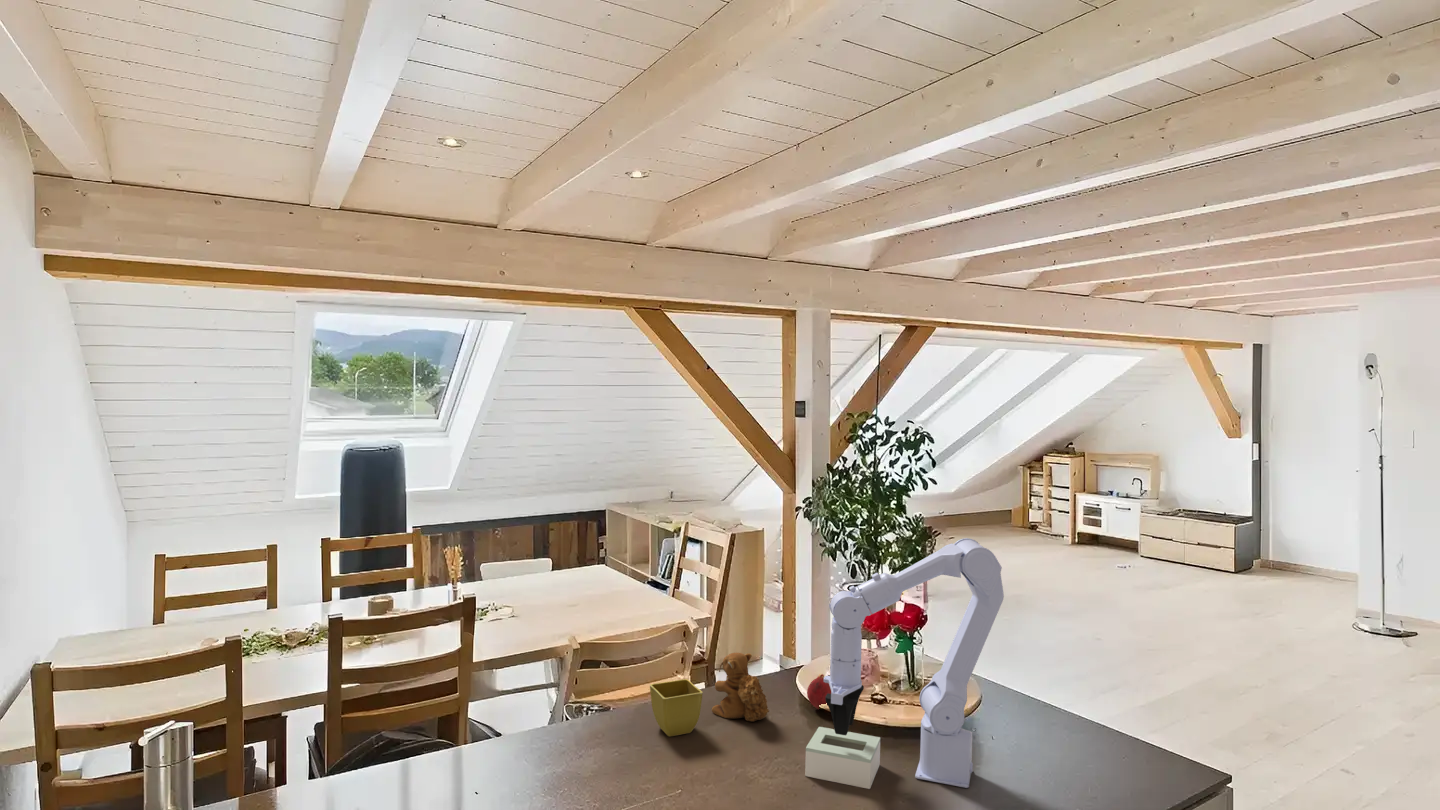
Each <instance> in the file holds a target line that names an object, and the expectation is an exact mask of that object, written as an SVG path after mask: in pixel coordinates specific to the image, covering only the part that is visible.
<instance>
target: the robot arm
mask: <svg viewBox="0 0 1440 810" xmlns="http://www.w3.org/2000/svg"><path fill="white" fill-rule="evenodd" d="M997 558H998V557H996V555H995V554H994V552H993V551H992V550H990V549H989V548H987V547H984V546H983V545H981V544H980V543H979V542H978V541H976V540H975V539H973V538H969V537H965V538H961V539H959V540H957V541H955V542H954V543H949V544H946V545H944V546H943V547H941V548H940V549H938V550H937V551H934V552H933V553H931V554H930V555H928V556H926V557H924V558H923V559H921V560H919V561H917V562H915V563H913V564H911V565H910V566H908V567H906V568H904V569H903V570H901V571H899V572H897V573H895V574H889V573H887V572H883V573H881V574H879V572H875V573H873V574H871V579H869V580H867V581H864V582H862V583H860V584H859V585H857V586H854V585H851V586H849V588H848V589H849V590H841V591H838V592H837V593H836V594H834V596H833V597H832V598H831V601H830V603H829V606H828V607H829V611H830V613H831V615H832V616H833V617H832V618H831V619H832V621H831V631H830V653H829V654H830V662H829V663H830V665H829V666H830V667H829V674H830V675H824V682H825V683H829V685H830V689H831V694H829V693H827V695H826V697H825V700H826V703H827V707H828V709H829V712H830V716H831V718H832V725H833V728H834V730H835V733H836V734H840V735H847V732H849V729H850V726H853V723H854V720H855V716H856V711H857V706H858V703H859V699H860V696H861V694H862V692H863V691H864V688H865V687H864V685H863V684H862V682H863V681H862V679H861V678H862V677H861V676H862V646H863V645H862V642H863V641H862V639H863V637H862V636H863V634H862V625H863V623H864V622H865V619H866V617H867V616H868V617H869V616H871V615H874V614H876V613H877V612H880V611H882V610H883V609H885V608H886V609H887V608H888V607H889V606H892V605H895V604H896V603H898V602H899V601H900V599H901V596H902V594H903V592H904V591H907V590H909V589H912V588H914V587H917V586H919V585H921V584H924V583H926V582H928V581H931V580H932V579H934V578H937V577H939V576H948V577H953V578H957V579H958V578H960V579H961V578H962V576H963V577H964V579H965V581H966V583H967V586H968V587H969V589H970V591H971V597H970V600H969V602H968V605H967V607H966V608H965V612H964V614H963V616H962V619H961V620H960V624H959V625H958V627H957V630H956V633H955V635H954V638H953V640H952V642H951V644H950V646H949V649H948V652H947V654H946V656H945V659H944V661H943V664H942V666H941V668H940V670H938V671H937V672H934V674H933V675H932V678H931V679H930V681H929V683H928V684H926V685H925V686H924V687H922V689H921V691H920V694H919V700H918V701H919V704H920V707H921V708H922V710H923V711H924V715H923V716H922V718H921V721H920V744H919V745H920V750H919V751H920V753H919V762H918V764H917V768H916V771H915V775H914V778H916V779H918V780H924V781H929V782H933V783H939V784H945V785H949V786H956V787H960V788H966V789H967V788H969V787H970V781H971V776H972V773H973V768H974V767H973V766H974V762H973V761H972V756H973V731H971V730H969V729H968V730H967V729H964V728H963V725H964V722H965V708H966V705H967V703H968V702H967V701H968V683H969V682H970V679H971V676H972V674H973V672H974V669H975V667H976V665H977V662H978V660H979V657H980V656H981V653H982V651H983V649H984V646H985V644H986V641H987V639H988V636H989V634H990V632H991V630H992V627H993V625H994V622H995V620H996V618H997V616H998V614H999V611H1000V608H1001V606H1002V604H1003V602H1004V597H1005V595H1004V587H1003V580H1002V573H1001V572H1002V569H1003V568H1002V565H1001V563H1000V561H998V559H997Z"/></svg>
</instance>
